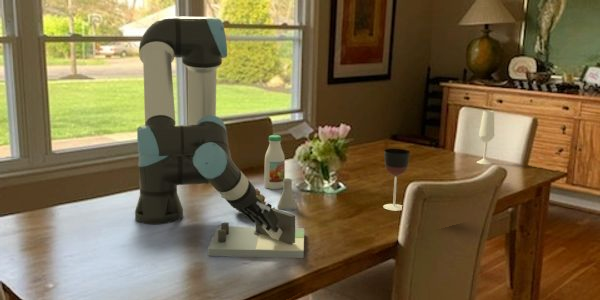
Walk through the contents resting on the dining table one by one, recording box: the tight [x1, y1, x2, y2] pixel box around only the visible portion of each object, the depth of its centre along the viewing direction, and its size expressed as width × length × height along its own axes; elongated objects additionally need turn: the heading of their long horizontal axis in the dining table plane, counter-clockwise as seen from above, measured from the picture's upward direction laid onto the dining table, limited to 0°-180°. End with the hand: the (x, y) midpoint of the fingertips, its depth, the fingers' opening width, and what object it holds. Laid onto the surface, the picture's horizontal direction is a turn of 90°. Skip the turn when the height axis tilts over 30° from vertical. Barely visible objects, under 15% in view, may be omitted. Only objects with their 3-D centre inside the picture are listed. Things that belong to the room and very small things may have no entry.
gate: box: [255, 207, 296, 244], centre depth 170 cm, size 15×2×8 cm, turn 47°
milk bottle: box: [263, 134, 286, 190], centre depth 228 cm, size 8×8×20 cm
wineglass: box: [382, 148, 411, 212], centre depth 206 cm, size 8×9×20 cm
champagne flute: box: [476, 110, 495, 165], centre depth 273 cm, size 7×7×24 cm
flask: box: [276, 177, 299, 211], centre depth 204 cm, size 7×7×10 cm
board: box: [207, 221, 306, 259], centre depth 171 cm, size 26×18×5 cm
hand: (277, 234), depth 167 cm, fingers closed
